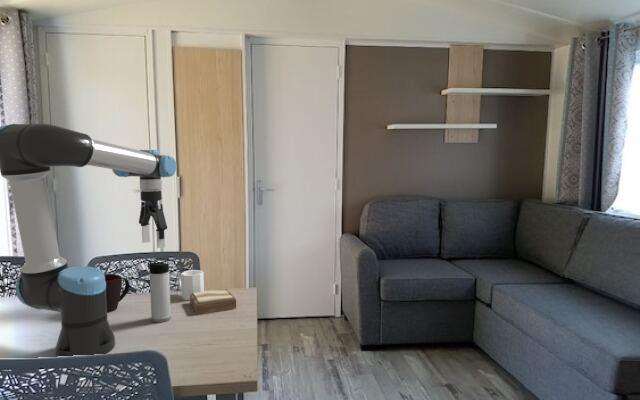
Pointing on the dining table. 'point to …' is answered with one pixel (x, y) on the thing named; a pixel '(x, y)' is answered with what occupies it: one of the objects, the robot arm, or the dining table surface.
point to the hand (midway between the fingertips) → (153, 244)
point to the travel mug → (160, 292)
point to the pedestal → (212, 301)
